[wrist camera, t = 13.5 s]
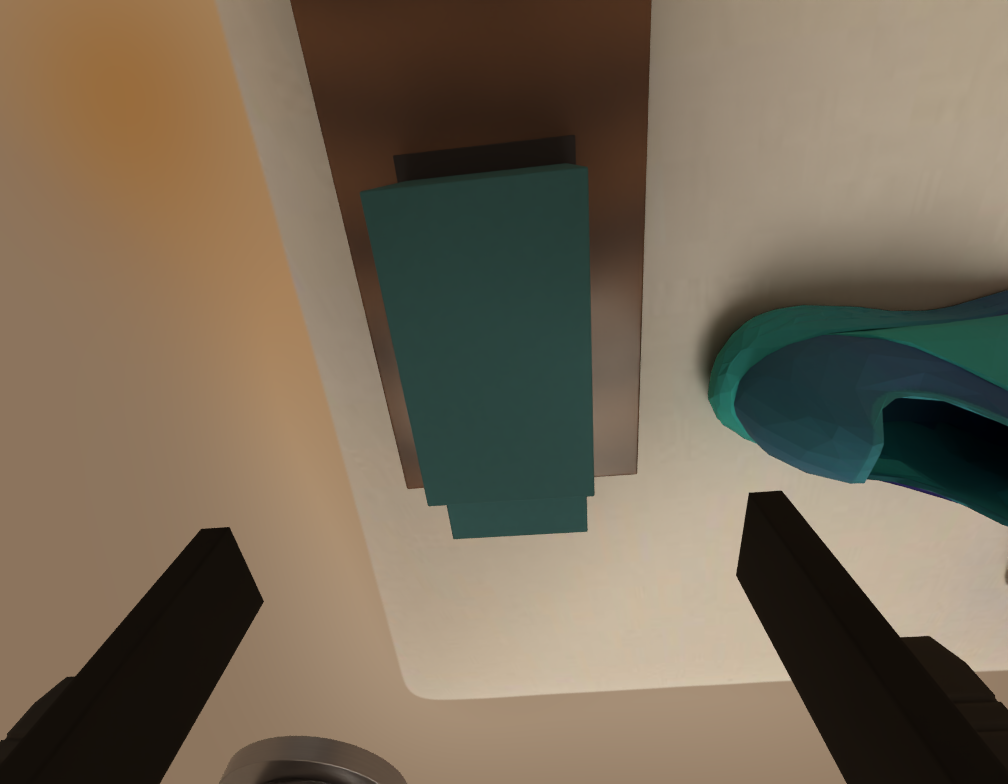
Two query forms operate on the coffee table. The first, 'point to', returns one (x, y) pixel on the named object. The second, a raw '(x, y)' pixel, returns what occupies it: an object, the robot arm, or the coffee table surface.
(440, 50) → the brown wooden board
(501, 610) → the coffee table surface
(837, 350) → the sneaker
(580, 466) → the teal stepped block
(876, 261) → the coffee table surface
